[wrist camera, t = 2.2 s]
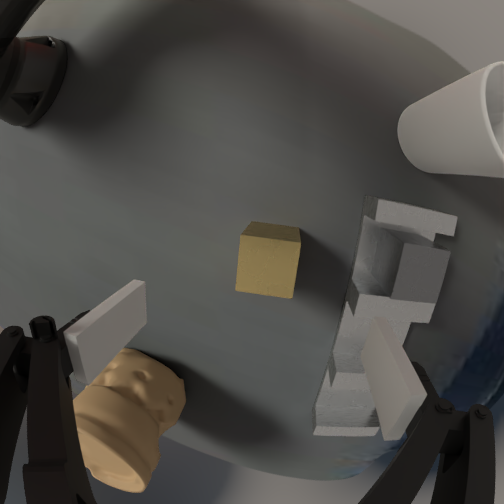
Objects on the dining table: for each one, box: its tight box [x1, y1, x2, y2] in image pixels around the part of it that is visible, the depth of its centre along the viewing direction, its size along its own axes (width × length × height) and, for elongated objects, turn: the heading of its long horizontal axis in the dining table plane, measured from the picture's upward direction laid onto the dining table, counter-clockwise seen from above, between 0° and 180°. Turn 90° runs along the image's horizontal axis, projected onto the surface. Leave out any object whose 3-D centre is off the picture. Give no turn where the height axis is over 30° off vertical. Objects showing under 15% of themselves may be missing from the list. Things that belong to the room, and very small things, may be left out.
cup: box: [397, 62, 504, 178], centre depth 18 cm, size 8×8×16 cm
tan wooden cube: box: [235, 221, 301, 299], centre depth 28 cm, size 5×5×7 cm
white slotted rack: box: [312, 195, 457, 436], centre depth 28 cm, size 30×9×8 cm, turn 174°
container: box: [73, 348, 186, 493], centre depth 30 cm, size 13×13×18 cm
